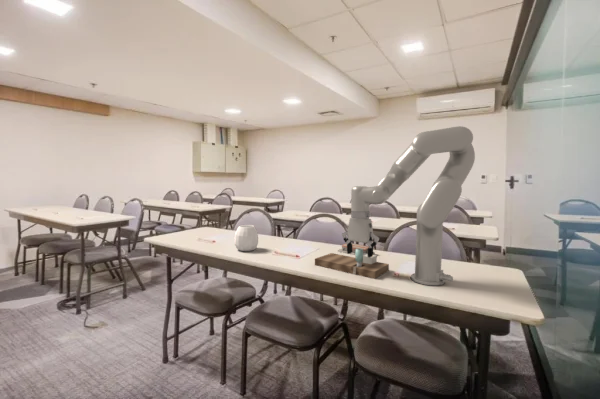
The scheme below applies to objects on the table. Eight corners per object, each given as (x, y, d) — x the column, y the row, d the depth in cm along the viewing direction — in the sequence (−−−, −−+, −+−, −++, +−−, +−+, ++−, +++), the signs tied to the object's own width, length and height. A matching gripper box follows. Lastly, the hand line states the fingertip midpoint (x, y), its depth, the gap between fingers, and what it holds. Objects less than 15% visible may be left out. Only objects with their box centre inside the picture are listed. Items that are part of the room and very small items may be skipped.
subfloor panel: (388, 270, 133) (389, 263, 133) (374, 279, 122) (374, 271, 122) (331, 258, 152) (331, 252, 152) (314, 265, 141) (314, 258, 141)
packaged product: (375, 246, 162) (365, 249, 155) (375, 255, 162) (365, 258, 155) (348, 241, 175) (337, 243, 168) (347, 249, 175) (337, 252, 168)
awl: (364, 272, 131) (364, 249, 130) (360, 273, 128) (360, 250, 128) (357, 270, 133) (357, 248, 132) (353, 272, 130) (354, 249, 130)
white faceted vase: (230, 249, 171) (230, 225, 170) (251, 246, 179) (251, 223, 178) (241, 253, 161) (241, 228, 160) (262, 250, 169) (262, 226, 168)
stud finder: (376, 262, 135) (376, 255, 135) (371, 264, 131) (371, 257, 131) (364, 259, 139) (364, 252, 139) (359, 262, 135) (359, 254, 135)
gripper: (383, 215, 126) (382, 256, 127) (346, 213, 137) (346, 250, 138) (375, 217, 120) (374, 260, 122) (338, 214, 131) (337, 253, 132)
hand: (359, 254), depth 130 cm, fingers open, 9 cm apart
